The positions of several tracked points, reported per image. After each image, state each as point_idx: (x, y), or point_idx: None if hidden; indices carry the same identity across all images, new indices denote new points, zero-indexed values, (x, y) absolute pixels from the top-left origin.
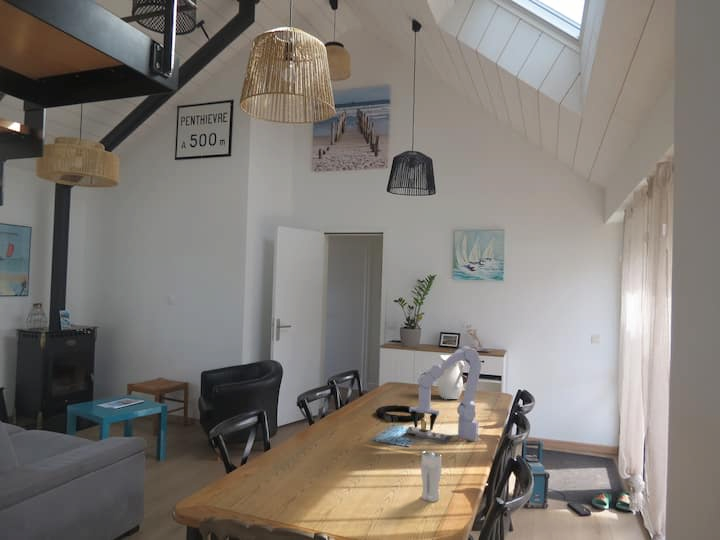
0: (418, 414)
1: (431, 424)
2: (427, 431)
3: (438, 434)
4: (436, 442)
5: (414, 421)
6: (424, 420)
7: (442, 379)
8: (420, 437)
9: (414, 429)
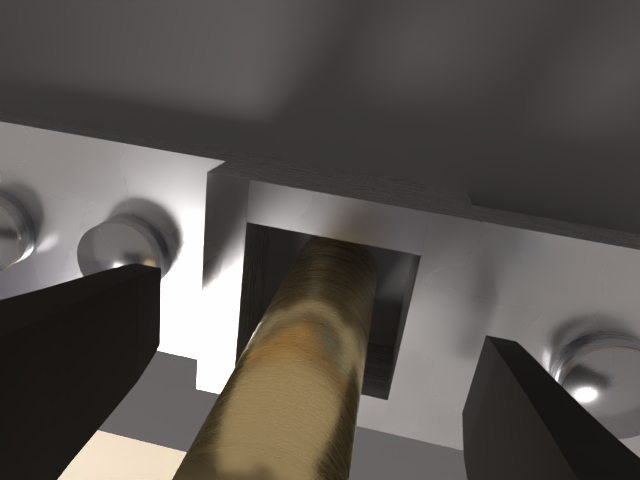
0: None
1: (38, 300)
2: (239, 288)
3: None
4: None
5: (579, 428)
6: (221, 432)
7: None
8: (368, 153)
9: None
